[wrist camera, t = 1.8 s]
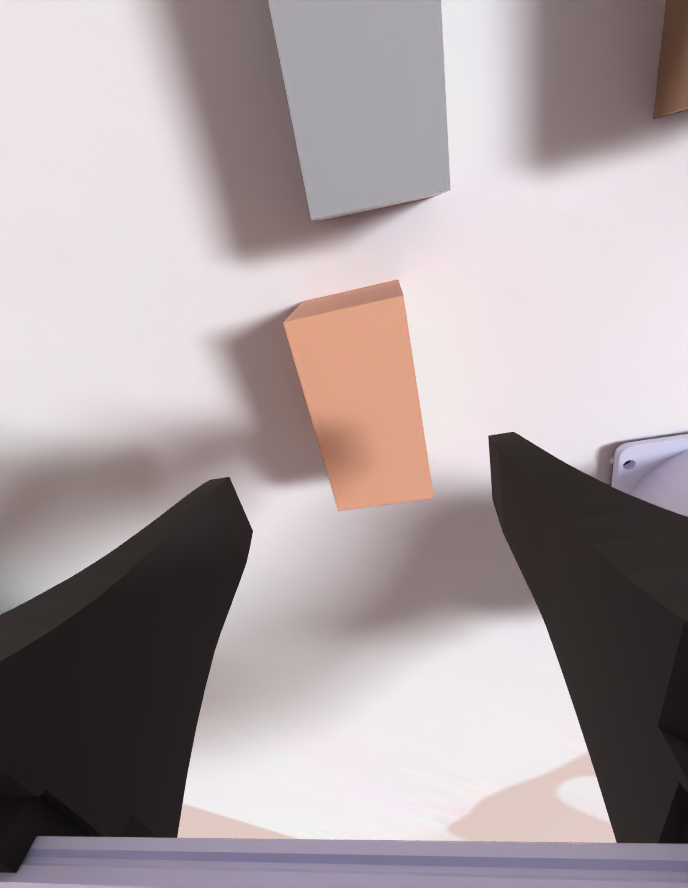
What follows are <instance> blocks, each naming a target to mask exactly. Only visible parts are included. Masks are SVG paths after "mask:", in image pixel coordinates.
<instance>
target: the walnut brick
mask: <svg viewBox="0 0 688 888" xmlns="http://www.w3.org/2000/svg"><path fill="white" fill-rule="evenodd" d="M685 110H688V0H666V7H665V16H664V25H663V34H662V44H661V53H660V62H659V71H658V81H657V90H656V99H655V108H654V117H653V119H656V118H659V117H663V116H667V115H670V114H674V113H678V112H681V111H685Z"/></svg>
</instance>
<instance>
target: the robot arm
mask: <svg viewBox="0 0 688 888" xmlns="http://www.w3.org/2000/svg"><path fill="white" fill-rule="evenodd" d="M488 437H489V452H490V467H491V482H492V497H493V502H494V505H495V509H496V512H497V515H498V518H499V521H500V524H501V527H502V531H503V533H504V535H505V538H506V540H507V542H508V544H509V546H510V548H511V551H512V553H513V555H514V557H515V559H516V561H517V563H518V565H519V568H520V570H521V572H522V574H523V576H524V578H525V580H526V582H527V585H528V587H529V589H530V591H531V593H532V595H533V597H534V599H535V602H536V604H537V606H538V608H539V610H540V613H541V615H542V617H543V620H544V622H545V625H546V627H547V630H548V633H549V636H550V639H551V641H552V644H553V647H554V650H555V653H556V656H557V658H558V661H559V664H560V667H561V670H562V673H563V676H564V679H565V682H566V685H567V688H568V691H569V694H570V697H571V699H572V702H573V705H574V708H575V711H576V714H577V717H578V720H579V724H580V727H581V730H582V733H583V736H584V739H585V742H586V745H587V748H588V751H589V755H590V757H591V761H592V764H593V767H594V770H595V773H596V776H597V780H598V783H599V786H600V789H601V793H602V796H603V799H604V802H605V806H606V809H607V812H608V815H609V819H610V822H611V825H612V828H613V832H614V835H615V838H616V842H617V843H571V842H570V843H568V842H486V841H485V842H483V841H480V842H479V841H401V840H316V839H230V838H221V839H220V838H177V834H178V828H179V821H180V816H181V809H182V803H183V797H184V790H185V784H186V778H187V773H188V767H189V762H190V757H191V752H192V746H193V741H194V736H195V731H196V726H197V722H198V717H199V713H200V708H201V704H202V700H203V695H204V691H205V686H206V683H207V679H208V675H209V671H210V667H211V663H212V659H213V655H214V652H215V648H216V645H217V642H218V639H219V636H220V633H221V631H222V628H223V625H224V622H225V620H226V617H227V614H228V612H229V609H230V606H231V604H232V601H233V598H234V596H235V593H236V590H237V588H238V585H239V582H240V579H241V576H242V574H243V571H244V568H245V565H246V562H247V558H248V553H249V549H250V544H251V539H252V533H253V530H252V528H251V526H250V523H249V521H248V519H247V516H246V514H245V512H244V510H243V507H242V505H241V503H240V500H239V498H238V496H237V494H236V491H235V489H234V487H233V484H232V482H231V480H230V478H229V477H226V478H220V479H213V480H209V481H208V482H206V483H204V484H203V485H201V486H200V487H198V488H197V489H195V490H194V491H192V492H191V493H190V494H188V495H187V496H186V497H184V498H183V499H182V500H180V501H179V502H178V503H177V504H175V505H174V506H173V507H171V508H170V509H169V510H167V511H166V512H165V513H164V514H162V515H161V516H160V517H158V518H157V519H156V520H154V521H153V522H152V523H151V524H149V525H148V526H146V527H145V528H144V529H142V530H141V531H140V532H138V533H137V534H135V535H134V536H133V537H131V538H130V539H129V540H127V541H126V542H124V543H123V544H122V545H120V546H119V547H118V548H116V549H115V550H113V551H112V552H110V553H109V554H107V555H106V556H104V557H103V558H101V559H100V560H98V561H96V562H95V563H93V564H92V565H90V566H88V567H87V568H85V569H84V570H82V571H80V572H79V573H77V574H76V575H74V576H72V577H70V578H69V579H67V580H65V581H63V582H62V583H60V584H58V585H56V586H54V587H53V588H51V589H49V590H47V591H45V592H43V593H42V594H40V595H38V596H36V597H34V598H33V599H31V600H29V601H27V602H25V603H23V604H21V605H19V606H17V607H15V608H13V609H11V610H9V611H7V612H5V613H3V614H1V615H0V888H688V434H683V435H676V436H669V437H662V438H655V439H648V440H641V441H635V442H628V443H624V444H622V445H620V446H619V447H618V448H617V449H616V451H615V455H614V464H613V474H612V484H611V486H609V485H607V484H605V483H603V482H601V481H599V480H597V479H595V478H593V477H591V476H589V475H587V474H585V473H583V472H581V471H579V470H577V469H576V468H574V467H572V466H570V465H568V464H566V463H565V462H563V461H561V460H559V459H558V458H556V457H554V456H553V455H551V454H549V453H548V452H546V451H544V450H543V449H541V448H539V447H538V446H536V445H534V444H533V443H531V442H530V441H528V440H526V439H525V438H523V437H522V436H520V435H518V434H516V433H515V432H509V433H503V434H497V435H490V436H488ZM629 460H631V461H630V462H629V463H628V464H626V465H624V463H625V462H626V461H629Z"/></svg>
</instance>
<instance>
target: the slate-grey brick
mask: <svg viewBox="0 0 688 888" xmlns="http://www.w3.org/2000/svg"><path fill="white" fill-rule="evenodd" d="M268 3H269V8H270V13H271V18H272V23H273V28H274V33H275V38H276V43H277V49H278V54H279V59H280V64H281V69H282V74H283V79H284V84H285V89H286V95H287V100H288V105H289V110H290V115H291V120H292V125H293V130H294V135H295V141H296V146H297V151H298V156H299V161H300V166H301V171H302V176H303V181H304V187H305V192H306V197H307V202H308V207H309V212H310V217H311V220H327V219H332V218H336V217H341V216H346V215H350V214H355V213H360V212H364V211H369V210H374V209H378V208H383V207H388V206H392V205H397V204H402V203H406V202H411V201H416V200H420V199H425V198H430V197H434V196H437V195H439V194H442V193H444V192H446V191H449V190H450V175H449V155H448V135H447V114H446V94H445V74H444V54H443V34H442V14H441V0H268Z"/></svg>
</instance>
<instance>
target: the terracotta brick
mask: <svg viewBox="0 0 688 888" xmlns="http://www.w3.org/2000/svg"><path fill="white" fill-rule="evenodd" d="M283 324H284V328H285V331H286V334H287V338H288V341H289V345H290V348H291V352H292V355H293V358H294V362H295V365H296V369H297V372H298V375H299V379H300V382H301V386H302V389H303V392H304V396H305V399H306V403H307V406H308V409H309V413H310V416H311V420H312V423H313V427H314V430H315V433H316V437H317V440H318V444H319V447H320V450H321V454H322V457H323V461H324V464H325V467H326V471H327V474H328V478H329V481H330V484H331V488H332V491H333V495H334V498H335V501H336V505H337V508H338V511H341V510H349V509H356V508H364V507H371V506H379V505H386V504H393V503H401V502H408V501H416V500H423V499H431V498H434V497H433V490H432V483H431V477H430V470H429V463H428V457H427V450H426V443H425V437H424V430H423V423H422V417H421V410H420V403H419V397H418V390H417V383H416V377H415V370H414V363H413V357H412V350H411V344H410V337H409V330H408V324H407V317H406V310H405V304H404V297H403V293H402V290H401V287H400V284H399V280H394V281H390V282H385V283H381V284H377V285H372V286H368V287H364V288H359V289H355V290H351V291H346V292H342V293H338V294H333V295H329V296H325V297H320V298H316V299H312V300H307V301H303V302H301V303H300V304H299V306H298V307H297V308H296V309H295V310H294V311H293V312H292V313H291V314H290V315H289V316H288V317H287V318H286V320H285V321H284V322H283Z"/></svg>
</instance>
